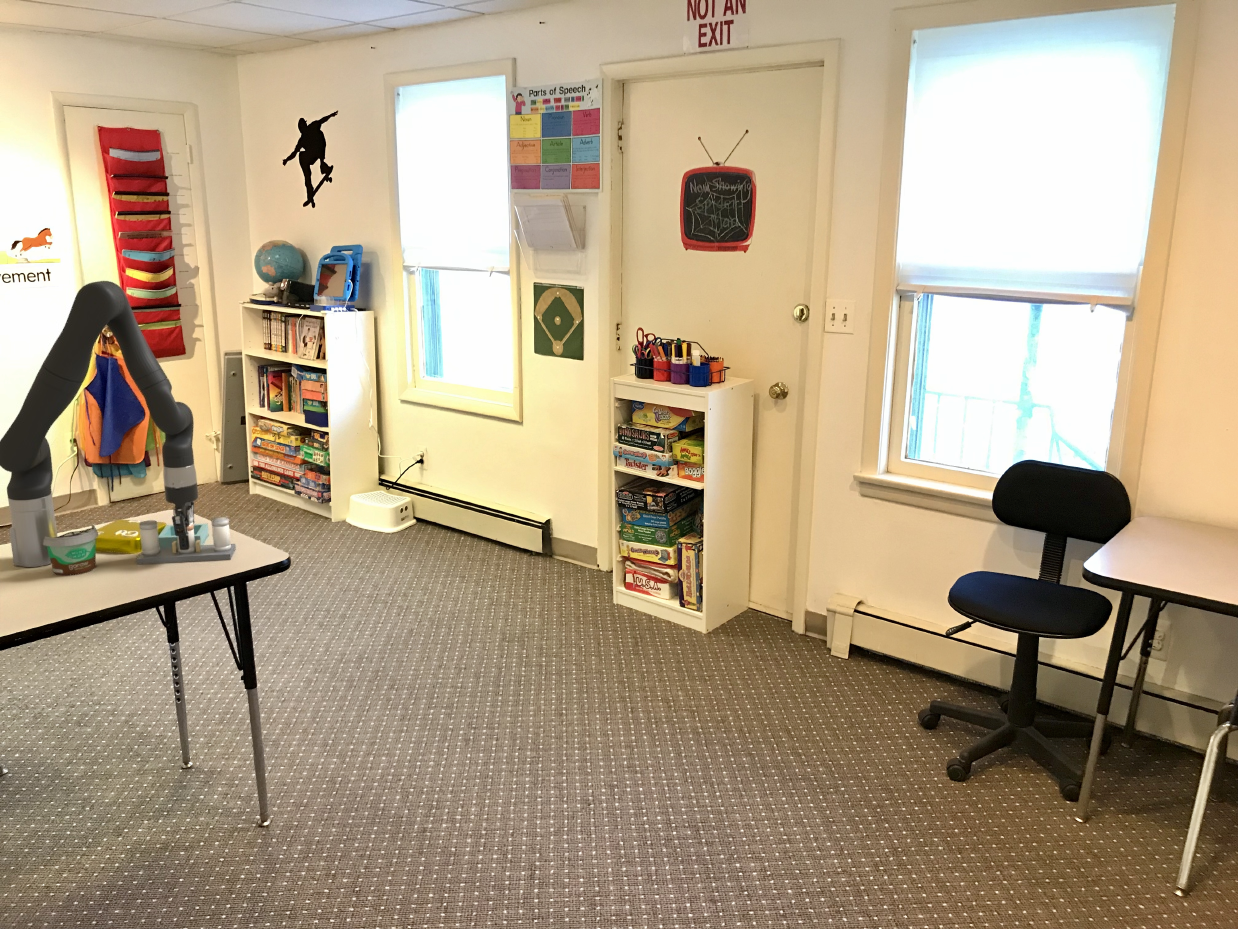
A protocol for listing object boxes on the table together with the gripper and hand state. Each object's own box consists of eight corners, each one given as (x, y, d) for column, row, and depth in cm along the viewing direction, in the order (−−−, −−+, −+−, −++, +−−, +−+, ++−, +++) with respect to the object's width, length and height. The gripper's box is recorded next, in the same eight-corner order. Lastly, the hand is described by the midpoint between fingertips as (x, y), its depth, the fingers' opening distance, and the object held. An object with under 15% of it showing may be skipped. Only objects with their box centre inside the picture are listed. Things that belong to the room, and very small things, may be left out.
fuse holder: (137, 564, 234) (133, 528, 232) (145, 553, 242) (141, 518, 239) (230, 559, 239) (227, 524, 237) (235, 549, 247) (233, 514, 244)
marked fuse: (176, 554, 238) (173, 520, 235) (180, 548, 242) (177, 515, 239) (194, 553, 239) (190, 519, 236) (197, 547, 242) (194, 514, 240)
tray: (158, 550, 244) (157, 537, 243) (167, 537, 254) (166, 525, 253) (201, 548, 246) (200, 535, 245) (208, 535, 256) (207, 523, 255)
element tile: (171, 537, 256) (169, 520, 254) (137, 555, 241) (135, 538, 240) (119, 533, 257) (117, 516, 256) (83, 551, 243) (81, 534, 242)
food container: (60, 581, 222) (55, 542, 220) (47, 576, 225) (42, 536, 223) (112, 567, 232) (107, 528, 230) (98, 561, 235) (94, 523, 233)
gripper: (170, 475, 241) (177, 538, 246) (157, 490, 228) (164, 556, 232) (202, 474, 243) (207, 536, 247) (190, 489, 229) (196, 555, 234)
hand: (186, 546), depth 240 cm, fingers closed on marked fuse, 4 cm apart
